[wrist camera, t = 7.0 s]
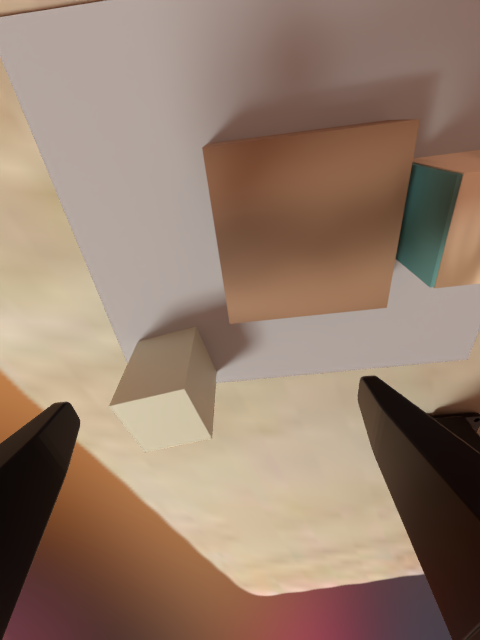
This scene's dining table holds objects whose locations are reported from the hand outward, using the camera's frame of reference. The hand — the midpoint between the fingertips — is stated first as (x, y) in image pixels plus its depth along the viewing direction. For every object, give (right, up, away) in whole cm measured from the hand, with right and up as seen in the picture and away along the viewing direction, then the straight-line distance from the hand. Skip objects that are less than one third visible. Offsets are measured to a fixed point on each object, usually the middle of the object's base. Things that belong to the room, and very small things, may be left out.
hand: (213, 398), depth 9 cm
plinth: (+4, +8, +9) cm, 13 cm away
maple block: (+10, +7, +6) cm, 13 cm away
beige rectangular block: (-4, 0, +14) cm, 14 cm away
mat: (+4, +7, +9) cm, 12 cm away
